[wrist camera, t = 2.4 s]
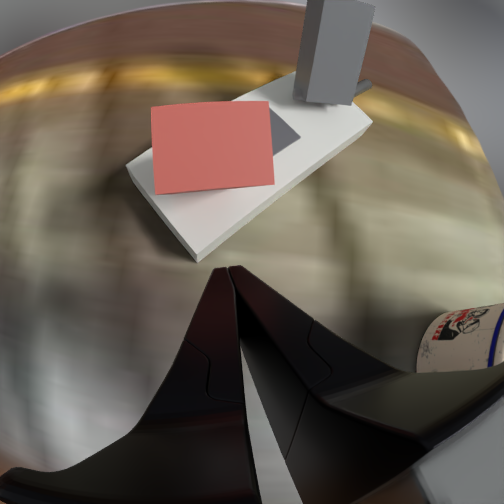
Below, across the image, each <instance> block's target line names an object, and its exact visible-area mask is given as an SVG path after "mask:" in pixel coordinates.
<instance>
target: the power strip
mask: <svg viewBox="0 0 504 504" xmlns="http://www.w3.org/2000/svg"><path fill="white" fill-rule="evenodd" d="M295 75H296V71H295V72H293V73H290V74H288V75H286V76H283V77H281V78H279V79H276V80H274V81H272V82H270V83H268V84H265V85H263V86H261V87H259V88H257V89H255V90H253V91H250V92H248V93H246V94H244V95H242V96H240V97H238V98H236V99H234V100H232V101H269V112H270V124H271V137H272V151H273V165H274V180H275V185H266V186H255V187H245V188H236V189H223V190H211V191H200V192H190V193H180V194H166V195H155V185H154V171H153V153H152V148H150V149H149V150H147V151H146V152H144V153H143V154H141V155H140V156H138V157H137V158H135V159H134V160H132V161H131V162H129V163H128V164H127V165H126V167H127V170H128V172H129V174H130V177H131V179H132V181H133V183H134V184H135V185H136V187H137V188H138V189H139V191H140V192H141V193H142V195H143V196H144V197H145V198H146V200H147V201H148V202H149V204H150V205H151V206H152V207H153V209H154V210H155V211H156V213H157V214H158V215H159V216H160V218H161V219H162V220H163V221H164V223H165V224H166V225H167V226H168V228H169V229H170V230H171V231H172V233H173V234H174V235H175V236H176V238H177V239H178V240H179V241H180V242H181V244H182V245H183V246H184V247H185V249H186V250H187V251H188V252H189V253H190V255H191V256H192V257H193V258H194V260H195V261H196V262H197V263H198V262H199V261H200V260H202V259H203V258H204V257H205V256H207V255H208V254H209V253H210V252H212V251H213V250H214V249H215V248H217V247H218V246H219V245H220V244H222V243H223V242H224V241H225V240H227V239H228V238H229V237H230V236H232V235H233V234H234V233H235V232H237V231H238V230H239V229H240V228H242V227H243V226H244V225H245V224H247V223H248V222H249V221H251V220H252V219H253V218H254V217H256V216H257V215H258V214H259V213H261V212H262V211H263V210H265V209H266V208H267V207H268V206H270V205H271V204H272V203H274V202H275V201H276V200H277V199H279V198H280V197H281V196H283V195H284V194H285V193H286V192H288V191H289V190H290V189H292V188H293V187H294V186H296V185H297V184H298V183H299V182H301V181H302V180H303V179H305V178H306V177H307V176H309V175H310V174H311V173H313V172H314V171H315V170H317V169H318V168H319V167H321V166H322V165H323V164H324V163H326V162H327V161H328V160H330V159H331V158H332V157H334V156H335V155H336V154H338V153H339V152H340V151H342V150H343V149H345V148H346V147H347V146H349V145H350V144H351V143H353V142H354V141H355V140H357V139H358V138H359V137H361V136H362V134H363V133H364V132H365V131H366V130H367V128H368V127H369V126H370V125H371V123H372V122H373V121H372V120H371V119H370V118H369V117H368V116H367V115H366V114H365V113H364V112H363V111H362V110H361V109H360V108H359V107H358V106H356V105H355V104H354V103H353V102H352V105H351V106H348V105H339V104H329V103H318V102H306V101H301V100H294V99H293V96H292V93H293V89H294V88H293V87H294V81H295ZM371 87H372V83H371V81H370V80H368V79H364V80H362V81H360V82H358V83H357V86H356V90H355V94H354V97H356V96H357V95H359V94H361V93H363V92H365V91H367V90H369V89H370V88H371ZM354 97H353V98H354Z"/></svg>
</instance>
